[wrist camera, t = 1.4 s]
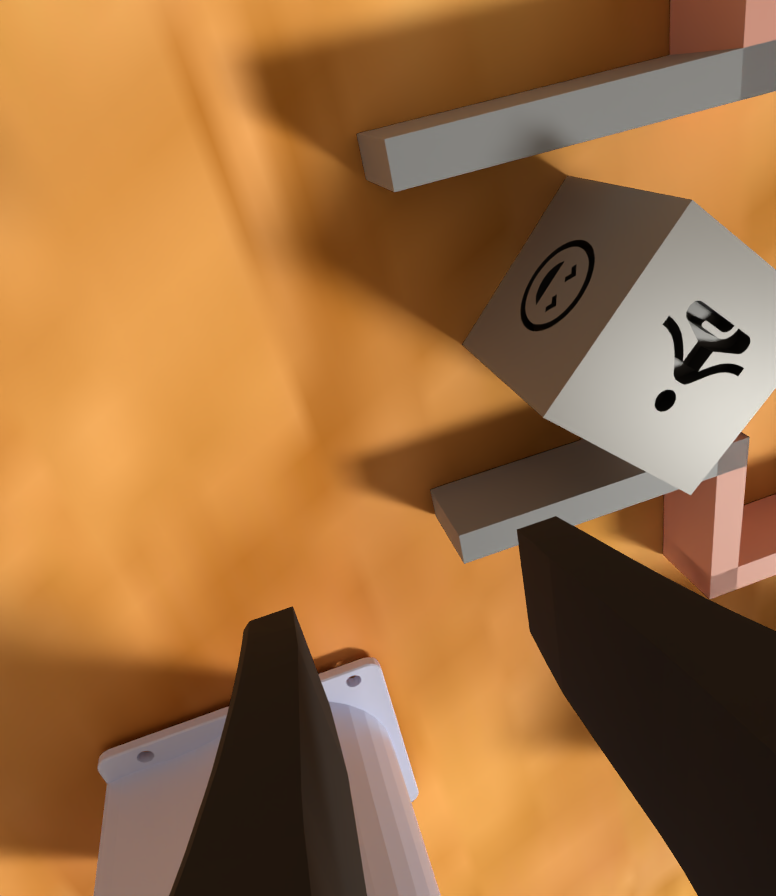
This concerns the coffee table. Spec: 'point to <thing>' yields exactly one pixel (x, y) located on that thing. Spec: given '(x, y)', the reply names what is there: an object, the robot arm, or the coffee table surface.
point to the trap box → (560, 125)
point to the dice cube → (635, 327)
